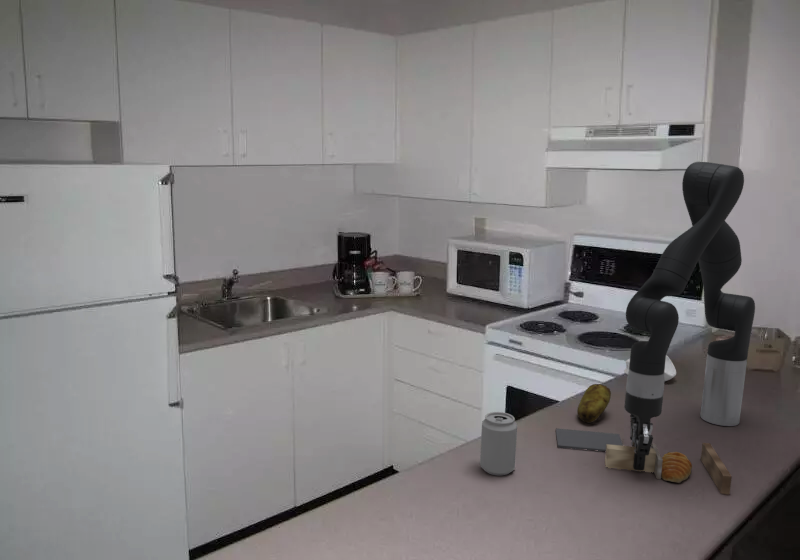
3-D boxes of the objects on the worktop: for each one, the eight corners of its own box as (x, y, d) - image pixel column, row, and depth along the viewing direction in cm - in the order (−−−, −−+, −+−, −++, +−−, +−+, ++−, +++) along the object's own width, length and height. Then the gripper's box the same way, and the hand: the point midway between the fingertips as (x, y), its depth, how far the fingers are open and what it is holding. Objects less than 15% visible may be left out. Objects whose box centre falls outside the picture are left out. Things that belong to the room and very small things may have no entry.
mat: (555, 430, 165) (555, 428, 165) (618, 436, 163) (619, 433, 163) (557, 447, 156) (558, 445, 156) (625, 453, 153) (625, 451, 153)
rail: (700, 459, 151) (702, 442, 151) (708, 460, 151) (710, 443, 150) (721, 493, 136) (723, 475, 135) (729, 494, 136) (731, 476, 135)
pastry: (688, 488, 138) (690, 471, 138) (653, 481, 141) (655, 464, 141) (691, 470, 147) (693, 453, 146) (659, 463, 150) (660, 447, 149)
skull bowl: (627, 362, 217) (650, 335, 211) (661, 394, 211) (685, 367, 204) (612, 369, 210) (635, 341, 203) (646, 402, 203) (672, 374, 197)
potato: (563, 417, 174) (565, 388, 172) (592, 406, 182) (595, 378, 180) (590, 428, 167) (593, 397, 166) (619, 416, 175) (622, 387, 174)
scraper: (607, 474, 143) (609, 454, 143) (603, 457, 151) (604, 438, 150) (660, 479, 142) (662, 459, 141) (653, 462, 149) (655, 443, 149)
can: (517, 464, 147) (520, 412, 144) (511, 480, 140) (514, 425, 138) (483, 458, 149) (486, 407, 147) (476, 473, 142) (478, 420, 140)
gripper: (670, 404, 136) (661, 483, 139) (656, 381, 149) (649, 454, 152) (631, 400, 137) (624, 479, 140) (621, 378, 150) (615, 451, 153)
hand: (637, 466), depth 146 cm, fingers closed on scraper, 2 cm apart
